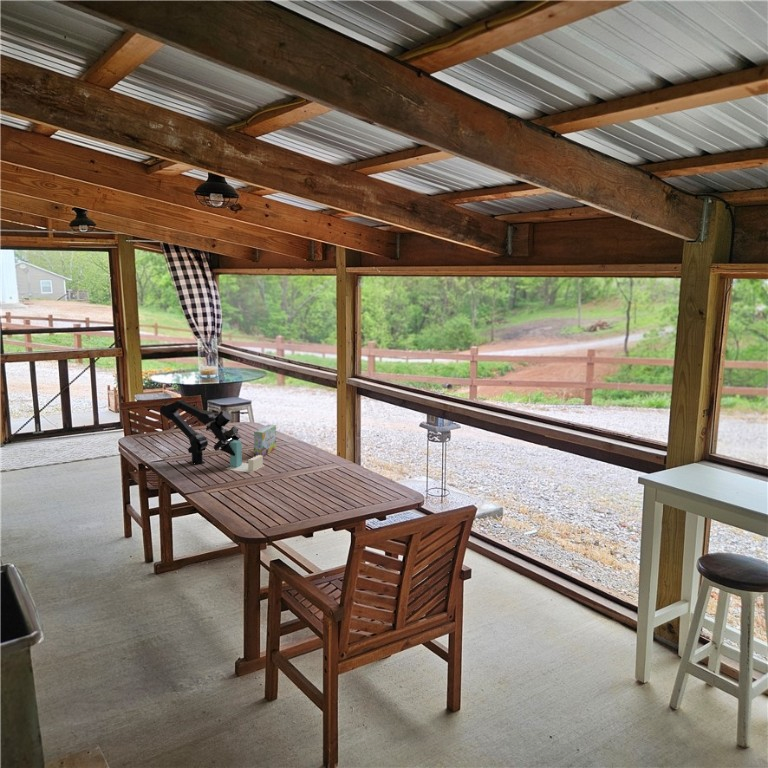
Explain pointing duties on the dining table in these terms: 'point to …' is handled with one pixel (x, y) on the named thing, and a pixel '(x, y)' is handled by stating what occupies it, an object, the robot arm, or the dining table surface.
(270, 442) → the snack box
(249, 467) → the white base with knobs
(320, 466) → the dining table surface
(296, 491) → the dining table surface
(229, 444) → the robot arm
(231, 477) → the dining table surface
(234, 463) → the tall teal pillar
